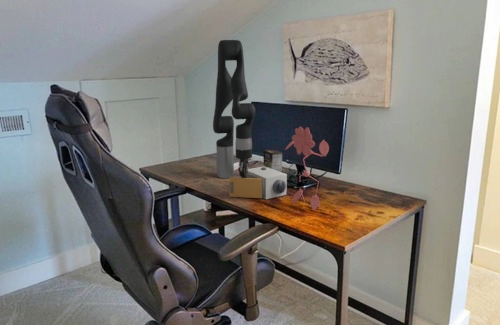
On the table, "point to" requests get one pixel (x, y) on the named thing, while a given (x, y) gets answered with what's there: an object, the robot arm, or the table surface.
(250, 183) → the side door
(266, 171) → the camera body
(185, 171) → the table surface
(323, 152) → the pink flower figure
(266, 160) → the coffee box
